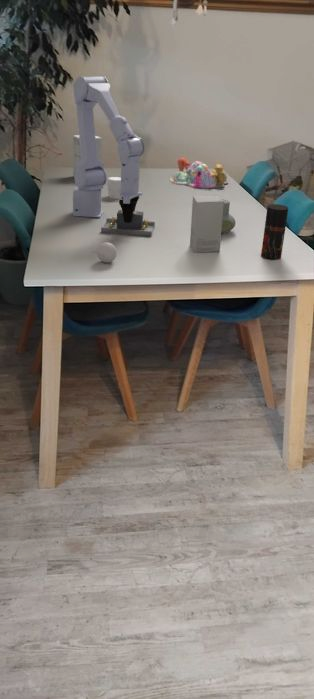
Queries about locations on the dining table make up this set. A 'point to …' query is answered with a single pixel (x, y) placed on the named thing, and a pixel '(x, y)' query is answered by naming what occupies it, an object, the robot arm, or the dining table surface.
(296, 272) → the dining table surface
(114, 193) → the white tapered cup
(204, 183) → the candy landscape model
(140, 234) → the tray
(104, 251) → the white sphere
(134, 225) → the block
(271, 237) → the deodorant
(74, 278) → the dining table surface
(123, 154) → the robot arm
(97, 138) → the supplement box
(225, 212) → the air freshener
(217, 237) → the skincare box
